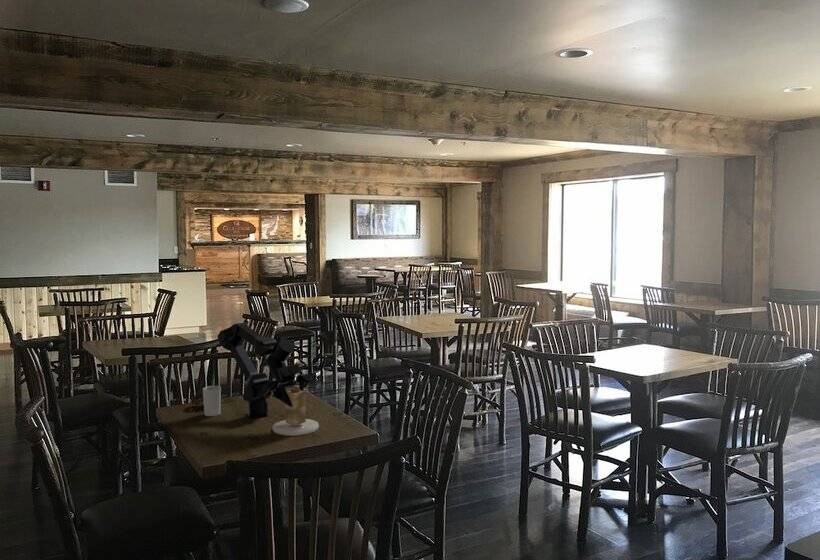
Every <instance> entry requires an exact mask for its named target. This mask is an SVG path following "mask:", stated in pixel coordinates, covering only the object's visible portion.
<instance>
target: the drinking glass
mask: <svg viewBox="0 0 820 560" xmlns="http://www.w3.org/2000/svg"><path fill="white" fill-rule="evenodd" d="M202 390H203V399H202V400H203V410H204V411H203V412H204V416H205V417H215V416H220V415H221V409H222V408H221V405H222V402H221V401H222V400H221V399H222V395H221V393H222V387H221V386H220V385H219V386H218V385H209V386H205V387H203V388H202Z"/></svg>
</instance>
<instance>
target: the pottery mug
mask: <svg viewBox="0 0 820 560" xmlns="http://www.w3.org/2000/svg"><path fill="white" fill-rule="evenodd" d="M191 400H192V405H196V406H199V405H200V404H201V401H200V400H203V389H202V390H201V391H199V392H197V393H196V395H194V396H192V397H191Z"/></svg>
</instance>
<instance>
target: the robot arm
mask: <svg viewBox="0 0 820 560" xmlns="http://www.w3.org/2000/svg"><path fill="white" fill-rule="evenodd" d="M243 340H244V341H245V342H247V343H248V344H250V345H251V346H252V347H253V351H254V352H255V353H256V354H257V355H258V356H259V357H266V356H267V357H266V358H265V359H264V360H263V361H264V362H263V367H268V369H269V371H270V372H271V376H270V378H271V379H269V378H268V376H267V374H266V373H265V372H261V373H260V372H258V370H257V368H256V366H255V364H254V363H253V361H252V359H251V358H250V356H249V354H248V353H247V351H246V350H245V348H244V346H243ZM217 341H218V342H219V344H220V345H221V346H222V348H223V349H225V350H227V351H228V352H230V353H231V355H232V357H233V359H234V360H235V362H236V364H237V366H238V367H239V369H240V371H241V373H242V374H243V376H244V378H245V380H246V382H245V388H246V389H245V391H244V393H242V398H243V401H246V402H247V412H246V414H247V416H248V418H249V419H252V418H253V419H254V418H261V417H267V416H268V413H269V409H268V408H269V407H268V402H267V399H270V397H272V398H276V399H278V401H281V402H283V404H284V405H285V404H287V405H288V406H290V407H292V403H291V400H290V398H289V396H288V394H287V393H286V388H289V387H290V388H291V386H292V385H299V386H300V390H301V391H304V388H307V387H308V386H309V384H310V383H311V382H312V380H313V377H312V375H311V374H310V373H305V374H301V372H302V371H303V370H304V366H303V363H302V362H301V361H297V362H295V363H294V364H291V365H286V363H285V361H287V360H288V359H289V357H290V356H291V354H292V353H293V351H294V350H295V344H294V343H293V342H292V341H290V340H289V339H287V338H286V337H285V336H282V337H279V338H278V339H277V340H276V339H275V338H272V337H271V336H265V335H262V334H260V333H259V332H257V331H255V330H254V329H253V328H251V327H250V326H249V325H248V324H247V323H245V322H238V323H234V324H232V325H231V326H229V327H227V328H224V329H221V330H220V331H219V332H218V334H217ZM298 374H300V375H299V376H298V378H297V379H295V378H296V377H297V375H298ZM272 393H273V394H272Z"/></svg>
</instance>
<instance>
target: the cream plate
mask: <svg viewBox="0 0 820 560" xmlns="http://www.w3.org/2000/svg"><path fill="white" fill-rule="evenodd" d="M318 428H320V425H319V422H318V421H316V420H313V419H309V418H306V422H305V423H301V424H298V425H291V424H288V423H286V422H285V419H283V420H280V421H277V422H276V423H274V424H273V425H272V432H273V433H275V434H276V435H281V436H287V437H288V436H290V437H291V436H292V437H293V436H294V437H295V436H304V435H308V434H309V435H310V434H312V432H313V433H315V432H316V430H317V431H318V430H319V429H318Z"/></svg>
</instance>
